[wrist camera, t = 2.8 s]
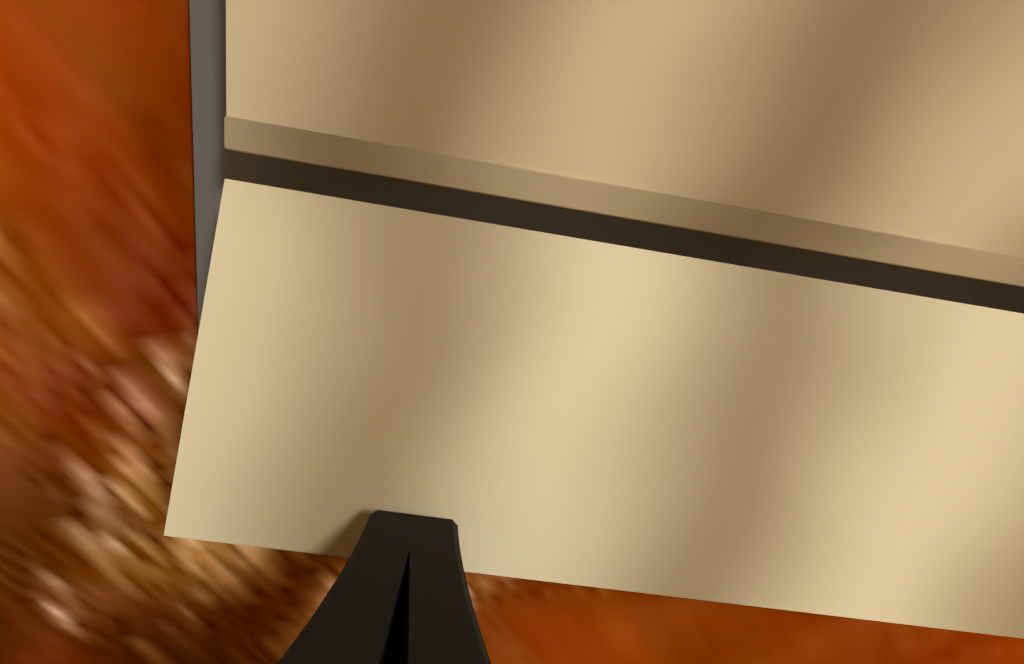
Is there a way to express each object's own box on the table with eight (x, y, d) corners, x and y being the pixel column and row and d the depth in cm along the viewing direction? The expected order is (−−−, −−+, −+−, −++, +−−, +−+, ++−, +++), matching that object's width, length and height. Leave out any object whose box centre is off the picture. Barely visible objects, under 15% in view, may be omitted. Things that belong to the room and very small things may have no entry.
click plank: (189, 518, 13) (163, 536, 12) (244, 194, 13) (224, 178, 12) (1086, 628, 14) (1145, 652, 13) (1117, 341, 15) (1178, 339, 14)
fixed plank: (249, 133, 13) (224, 151, 12) (252, -288, 10) (221, -319, 9) (1138, 289, 15) (1193, 318, 13) (1347, -32, 12) (1439, -32, 11)
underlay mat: (206, 462, 17) (202, 470, 16) (184, -492, 9) (175, -505, 9) (984, 564, 19) (992, 572, 18) (1472, -158, 11) (1496, -161, 11)
